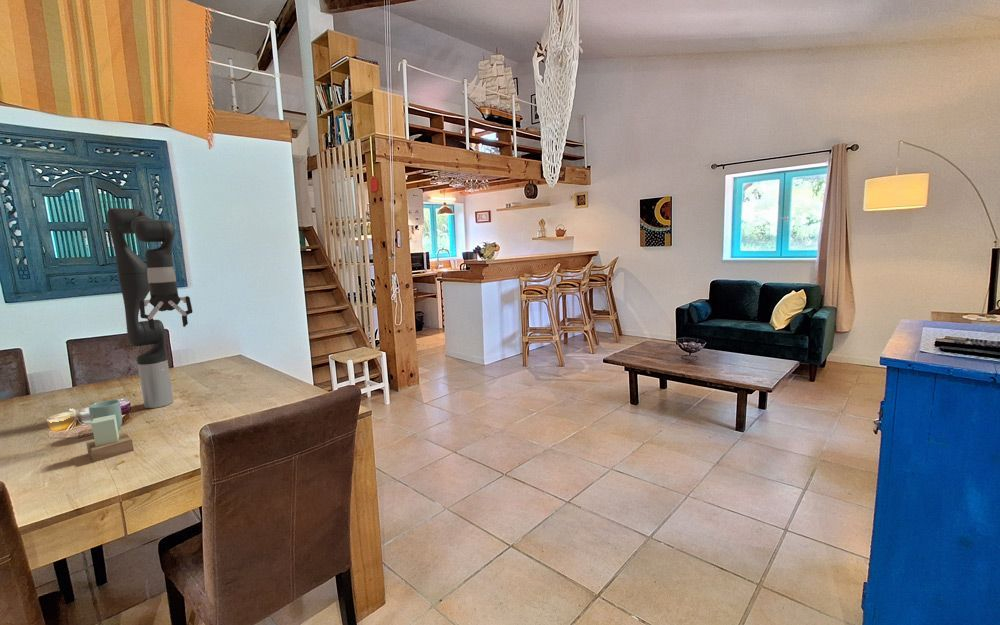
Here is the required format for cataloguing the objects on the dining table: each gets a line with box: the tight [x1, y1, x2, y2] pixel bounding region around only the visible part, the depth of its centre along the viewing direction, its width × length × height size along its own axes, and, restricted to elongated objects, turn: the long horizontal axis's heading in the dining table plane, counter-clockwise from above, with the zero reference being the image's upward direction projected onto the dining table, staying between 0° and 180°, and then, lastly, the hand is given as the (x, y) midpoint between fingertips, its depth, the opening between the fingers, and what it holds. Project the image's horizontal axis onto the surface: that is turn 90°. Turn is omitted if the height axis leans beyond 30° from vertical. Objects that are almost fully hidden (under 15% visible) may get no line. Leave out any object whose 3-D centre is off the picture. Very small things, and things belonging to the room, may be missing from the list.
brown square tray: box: [85, 432, 135, 463], centre depth 135 cm, size 9×9×4 cm
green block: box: [91, 415, 120, 446], centre depth 134 cm, size 5×5×7 cm
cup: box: [88, 399, 123, 431], centre depth 150 cm, size 8×8×10 cm
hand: (169, 328), depth 154 cm, fingers open, 8 cm apart
